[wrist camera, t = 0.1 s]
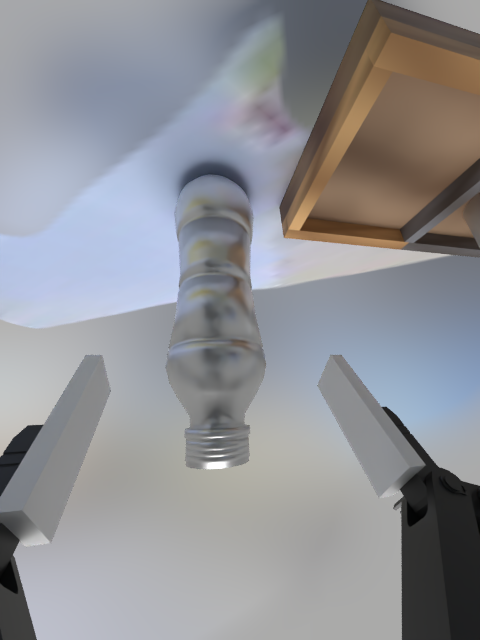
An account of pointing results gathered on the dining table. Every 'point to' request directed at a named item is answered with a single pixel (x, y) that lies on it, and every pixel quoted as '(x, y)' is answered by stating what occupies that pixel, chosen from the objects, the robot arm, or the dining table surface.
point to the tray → (394, 140)
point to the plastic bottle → (215, 322)
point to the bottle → (473, 217)
